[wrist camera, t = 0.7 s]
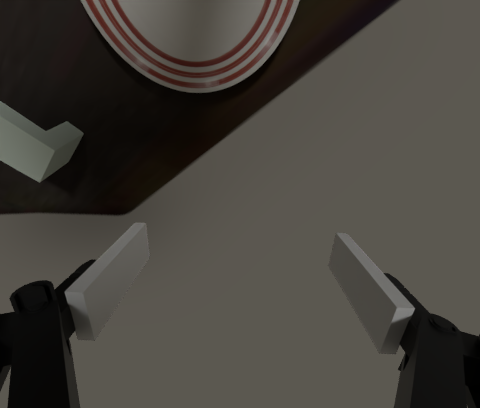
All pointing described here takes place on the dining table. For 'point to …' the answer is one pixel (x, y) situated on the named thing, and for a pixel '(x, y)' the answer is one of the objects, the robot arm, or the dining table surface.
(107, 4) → the dinner plate
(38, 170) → the bridge
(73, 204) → the dining table surface
